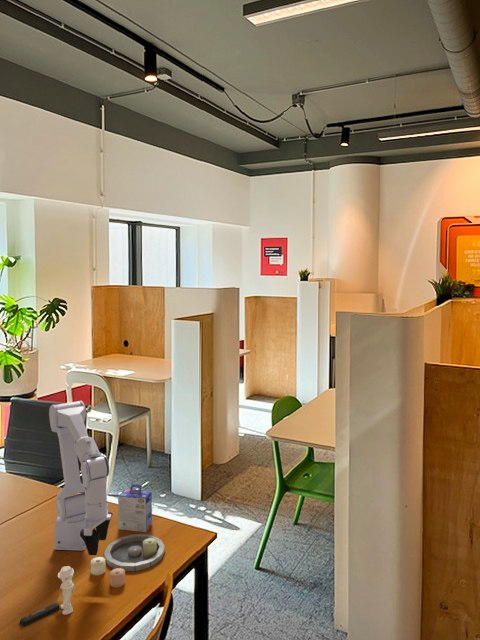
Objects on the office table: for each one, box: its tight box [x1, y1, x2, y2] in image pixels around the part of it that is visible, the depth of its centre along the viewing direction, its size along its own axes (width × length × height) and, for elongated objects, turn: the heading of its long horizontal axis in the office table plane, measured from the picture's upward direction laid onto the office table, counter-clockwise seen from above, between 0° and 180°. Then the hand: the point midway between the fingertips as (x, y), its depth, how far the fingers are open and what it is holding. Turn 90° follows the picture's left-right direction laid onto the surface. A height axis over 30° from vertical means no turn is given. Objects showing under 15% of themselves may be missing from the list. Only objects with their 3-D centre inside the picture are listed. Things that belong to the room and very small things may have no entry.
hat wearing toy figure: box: [57, 565, 75, 616], centre depth 133 cm, size 9×4×12 cm, turn 27°
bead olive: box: [143, 538, 157, 558], centre depth 156 cm, size 4×4×4 cm
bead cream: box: [90, 556, 107, 576], centre depth 148 cm, size 4×4×4 cm
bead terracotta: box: [109, 568, 126, 589], centre depth 142 cm, size 4×4×4 cm
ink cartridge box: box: [117, 484, 153, 533], centre depth 172 cm, size 10×6×14 cm, turn 79°
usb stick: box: [19, 602, 61, 627], centre depth 131 cm, size 10×3×2 cm, turn 134°
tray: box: [103, 533, 166, 572], centre depth 156 cm, size 17×17×2 cm
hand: (97, 546), depth 147 cm, fingers open, 7 cm apart
